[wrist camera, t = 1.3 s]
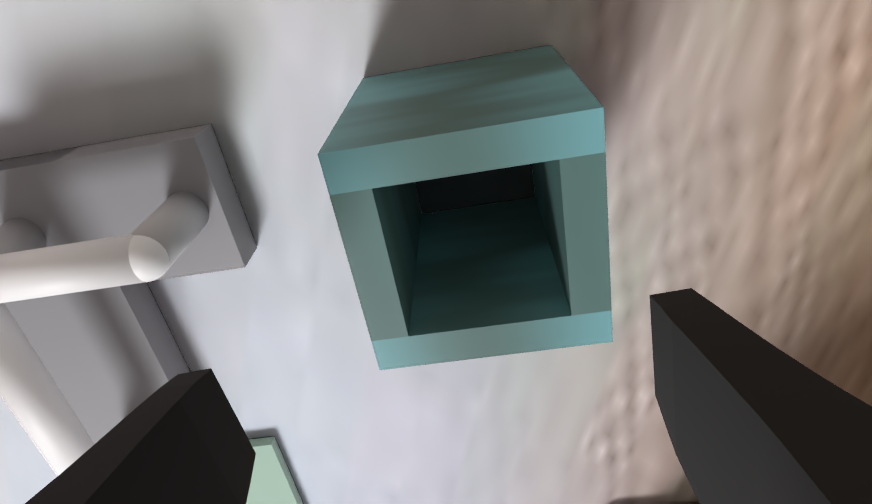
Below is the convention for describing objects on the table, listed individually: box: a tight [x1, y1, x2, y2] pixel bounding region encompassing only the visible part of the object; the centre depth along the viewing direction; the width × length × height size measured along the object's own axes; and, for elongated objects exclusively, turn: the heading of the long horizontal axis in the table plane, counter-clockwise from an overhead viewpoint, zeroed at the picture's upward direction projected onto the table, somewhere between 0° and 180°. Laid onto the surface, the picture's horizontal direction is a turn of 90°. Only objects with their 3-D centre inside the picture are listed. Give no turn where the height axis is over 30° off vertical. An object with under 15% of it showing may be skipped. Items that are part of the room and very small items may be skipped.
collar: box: [318, 45, 613, 370], centre depth 14 cm, size 5×5×6 cm
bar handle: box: [0, 124, 257, 476], centre depth 18 cm, size 8×12×4 cm
